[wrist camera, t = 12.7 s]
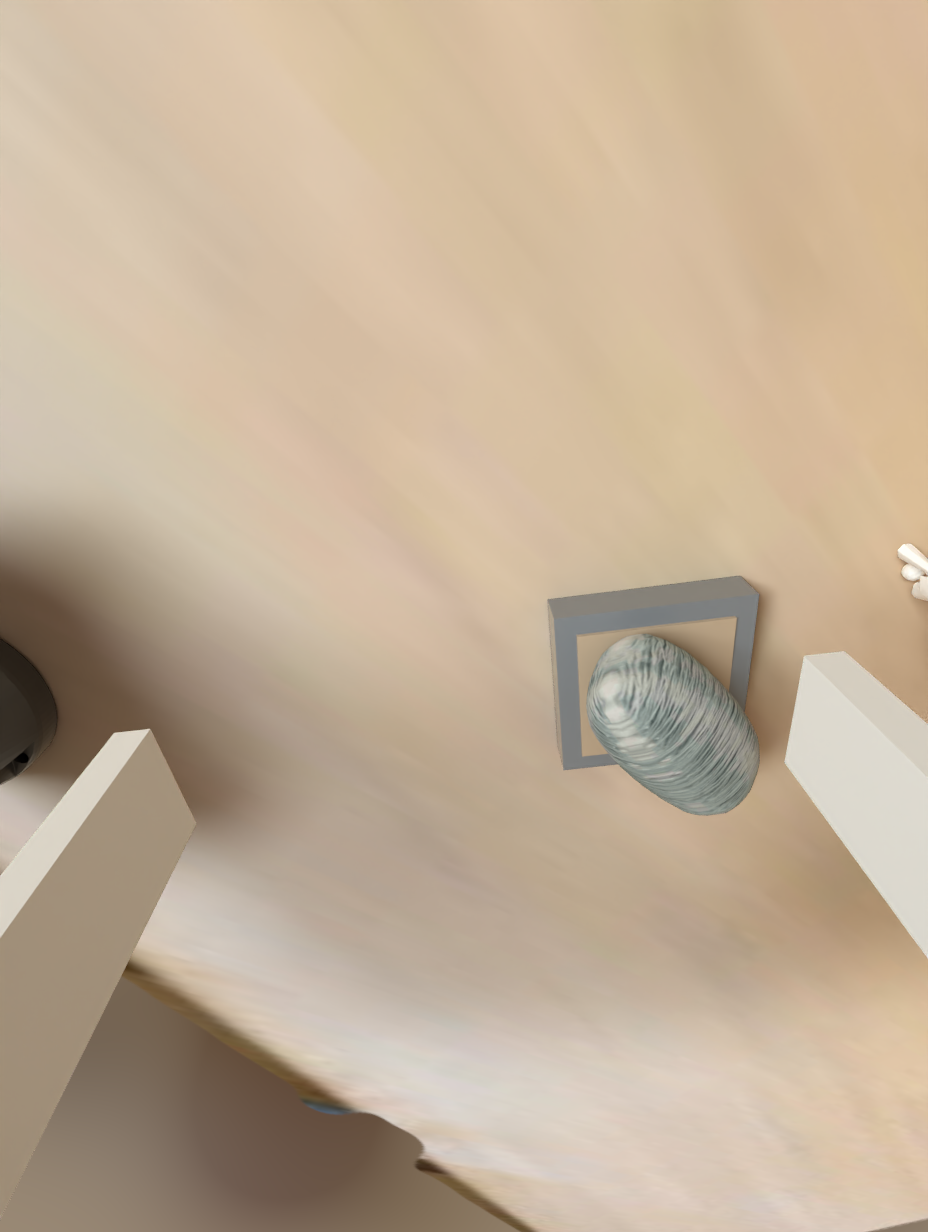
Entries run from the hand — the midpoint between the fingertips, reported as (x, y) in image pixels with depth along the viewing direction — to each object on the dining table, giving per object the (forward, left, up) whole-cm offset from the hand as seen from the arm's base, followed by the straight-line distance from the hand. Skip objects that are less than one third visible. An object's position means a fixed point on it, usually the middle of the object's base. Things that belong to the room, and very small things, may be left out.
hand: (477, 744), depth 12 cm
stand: (+12, -19, -29) cm, 36 cm away
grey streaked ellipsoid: (+12, -19, -26) cm, 34 cm away
